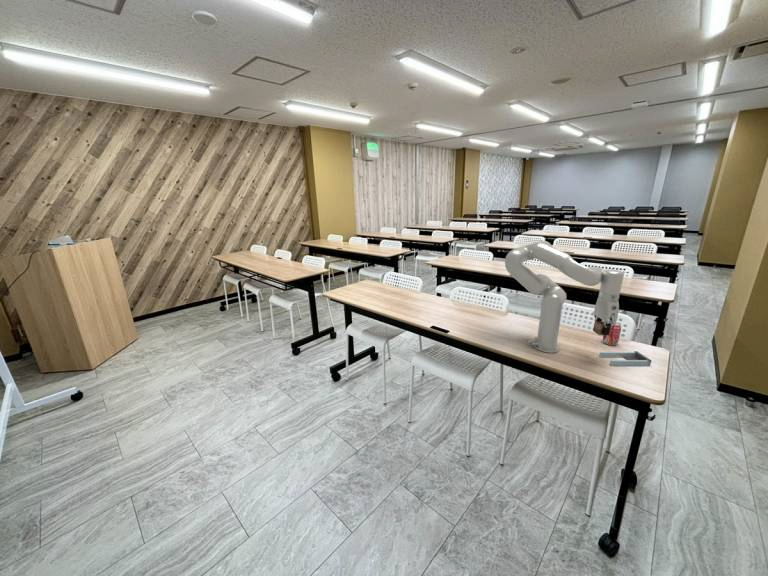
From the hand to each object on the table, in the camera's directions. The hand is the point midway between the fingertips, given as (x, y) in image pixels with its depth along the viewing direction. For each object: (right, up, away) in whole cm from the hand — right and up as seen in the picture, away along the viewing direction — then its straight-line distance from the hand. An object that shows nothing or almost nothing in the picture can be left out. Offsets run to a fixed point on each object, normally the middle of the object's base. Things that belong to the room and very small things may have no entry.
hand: (601, 331), depth 143 cm
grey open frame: (+14, -15, +3) cm, 21 cm away
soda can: (+20, -10, +21) cm, 31 cm away
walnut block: (0, -1, 0) cm, 1 cm away
